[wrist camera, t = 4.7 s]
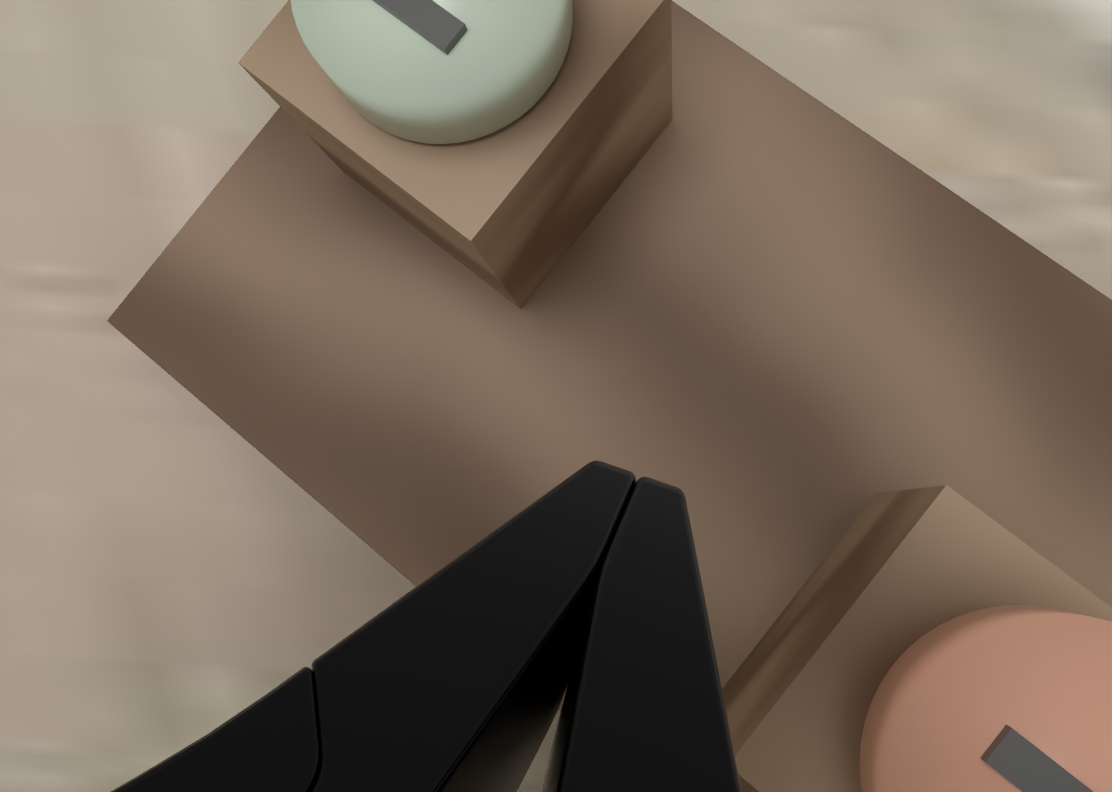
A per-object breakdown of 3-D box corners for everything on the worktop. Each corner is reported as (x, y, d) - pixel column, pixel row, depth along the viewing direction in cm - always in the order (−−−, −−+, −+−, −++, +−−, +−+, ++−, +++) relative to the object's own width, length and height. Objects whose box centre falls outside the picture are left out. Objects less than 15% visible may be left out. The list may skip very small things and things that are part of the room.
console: (939, 1014, 21) (1073, 1265, 14) (140, 332, 25) (-67, 260, 18) (1341, 492, 21) (1670, 480, 14) (486, -95, 25) (414, -330, 18)
